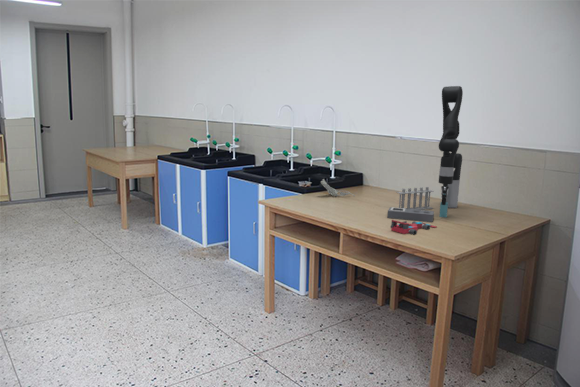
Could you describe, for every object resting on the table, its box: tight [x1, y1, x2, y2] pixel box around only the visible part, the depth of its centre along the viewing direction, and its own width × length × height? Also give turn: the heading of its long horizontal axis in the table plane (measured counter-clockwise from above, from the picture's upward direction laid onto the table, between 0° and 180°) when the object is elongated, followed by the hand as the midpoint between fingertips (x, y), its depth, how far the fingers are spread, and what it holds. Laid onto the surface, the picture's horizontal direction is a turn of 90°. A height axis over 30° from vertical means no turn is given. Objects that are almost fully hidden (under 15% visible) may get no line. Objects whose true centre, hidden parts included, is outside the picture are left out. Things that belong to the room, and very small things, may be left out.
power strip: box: [386, 206, 435, 223], centre depth 266 cm, size 10×24×4 cm, turn 71°
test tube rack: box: [396, 186, 435, 210], centre depth 288 cm, size 25×4×13 cm, turn 116°
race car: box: [390, 219, 438, 236], centre depth 243 cm, size 14×6×25 cm
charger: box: [439, 201, 449, 218], centre depth 272 cm, size 4×4×8 cm
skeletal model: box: [320, 178, 356, 197], centre depth 324 cm, size 16×9×25 cm
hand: (443, 203), depth 271 cm, fingers open, 8 cm apart
